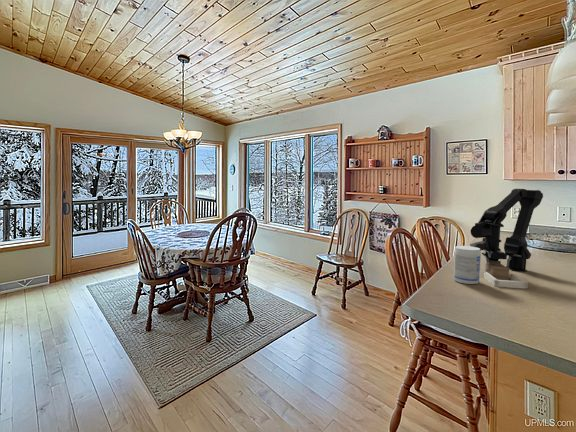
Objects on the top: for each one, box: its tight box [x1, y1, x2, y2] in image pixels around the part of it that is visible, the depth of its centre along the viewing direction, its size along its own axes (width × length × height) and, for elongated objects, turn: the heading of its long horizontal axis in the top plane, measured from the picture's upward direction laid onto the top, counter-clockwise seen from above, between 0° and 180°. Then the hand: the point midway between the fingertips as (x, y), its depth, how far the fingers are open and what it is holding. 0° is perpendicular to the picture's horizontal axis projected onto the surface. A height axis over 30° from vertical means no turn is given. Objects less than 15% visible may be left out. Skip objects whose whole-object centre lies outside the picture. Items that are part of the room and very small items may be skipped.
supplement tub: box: [453, 245, 482, 285], centre depth 127 cm, size 10×10×15 cm
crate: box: [484, 260, 510, 281], centre depth 132 cm, size 9×6×7 cm, turn 163°
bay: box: [483, 271, 529, 290], centre depth 125 cm, size 12×11×2 cm
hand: (489, 269), depth 139 cm, fingers closed
